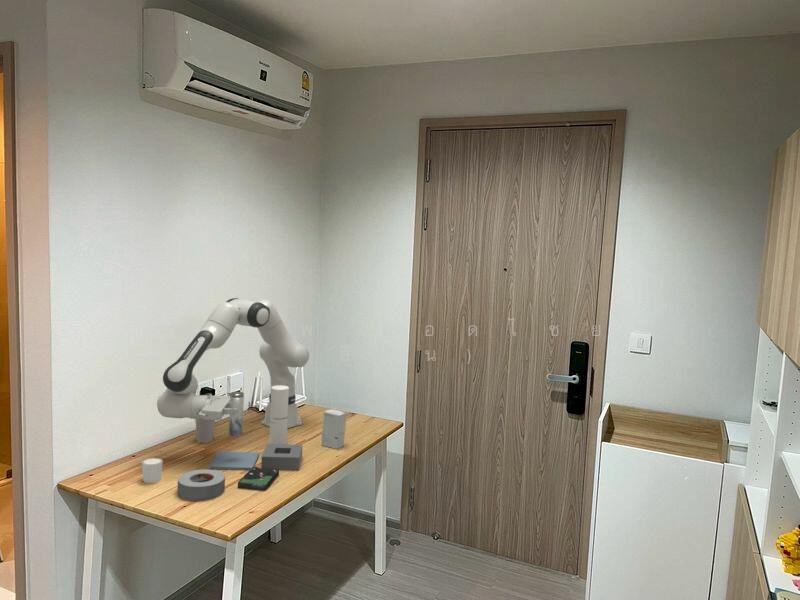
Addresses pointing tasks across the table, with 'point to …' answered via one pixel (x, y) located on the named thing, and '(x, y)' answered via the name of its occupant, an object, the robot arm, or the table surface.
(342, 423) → the skincare box
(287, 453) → the block
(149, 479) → the light grey cylinder
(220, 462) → the rubber mat
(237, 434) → the metal plug
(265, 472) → the disk drive
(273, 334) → the robot arm
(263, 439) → the table surface
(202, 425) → the coffee cup
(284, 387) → the cylindrical container
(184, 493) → the tape roll
